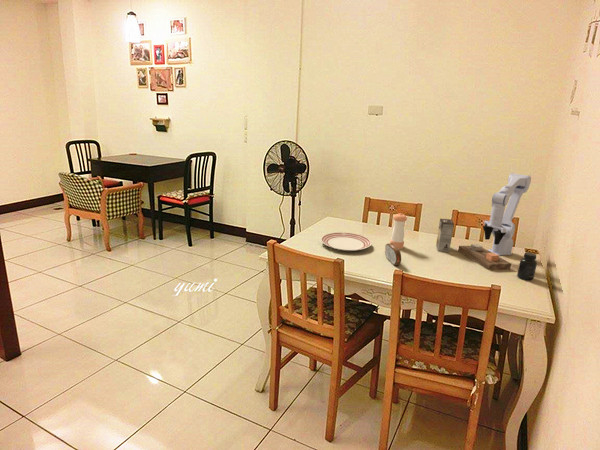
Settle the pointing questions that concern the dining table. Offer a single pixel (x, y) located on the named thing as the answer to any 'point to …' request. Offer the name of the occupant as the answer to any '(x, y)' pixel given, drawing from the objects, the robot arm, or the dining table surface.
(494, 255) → the terracotta key
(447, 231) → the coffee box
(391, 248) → the tin
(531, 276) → the supplement bottle
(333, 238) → the dinner plate
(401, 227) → the pepper shaker
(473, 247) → the steel key
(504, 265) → the board
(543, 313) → the dining table surface
